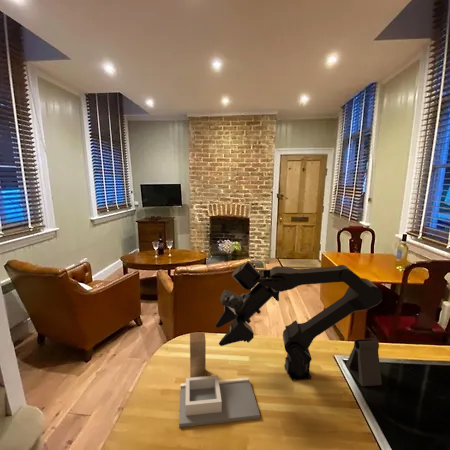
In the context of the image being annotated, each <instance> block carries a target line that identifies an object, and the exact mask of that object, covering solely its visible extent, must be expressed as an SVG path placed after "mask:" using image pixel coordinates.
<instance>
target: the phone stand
mask: <svg viewBox="0 0 450 450" xmlns="http://www.w3.org/2000/svg"><path fill="white" fill-rule="evenodd" d="M353 341H354V342H353V343H354V344H353V348H352V349H351V352H350V354H349V356H348V358H347V361H346V363H345V367H346V368H347V367H348V368H347V369H348V370H349V371H350V373H351V374H352V376H354V378H355V379H356V380H357V382H358V384H360V385H361V386H362V387H373V386H374V387H375V386H382V385H383V383H382V375H381V374H382V372H381V364H380V357H379V356H380V355H379V348H380V343H379V341H378V340H377V339H376V338H373V337H372V338H357V339H356V338H355V339H354V340H353Z"/></svg>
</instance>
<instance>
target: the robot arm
mask: <svg viewBox="0 0 450 450" xmlns="http://www.w3.org/2000/svg"><path fill="white" fill-rule="evenodd" d="M231 277H232V278H233V279H234V281H236V282H237V283H238V284H239V285H240V286H241V287H242V288H243V289H244V290H247V291H249V292H247V293H246V292H243V293H241V294H238V293H236V292H234V291H231V290H228V289H227V288H226V289H224V290H223V292H222V293H221V296H220V297H219V300H220V303H221V305H223V306H224V307H223V311H222V313H221V315H220V317H219V318H218V320H217V322H216V324H215V328H216V329H219V328H221V327H223V326H224V325H227V324H228V323H229V330H228V331H227V332H226V333H225V334H224V335H223V337H222V338H221V339H220V340H219V342H218V345H219V346H221V347H224V346H226V345H230V344H233V343H240V342H244V343H246V342H247V343H250V342H251V341H252V340H253V339H254V338H255V337H254V336H255V335H254V331H253V329H252V326H251V325H250V323H251V322H252V321H251V318H252V317H253V316H254V315H255V314H256V313H257V315H259V314H261V312H262V311H261V308H262V307H263V306H265V304H267V303H268V301H270V300H271V299H272V298H274V300H275V301H276V302H279V301H280V293H283V292H286V291H289V290H290V291H291V290H293V289H295V288H297V287H300V286H305V285H306V286H307V285H320V284H332V283H345V285H347V286H348V288H347V289H346V292H344V295H343V296H342V297H340V298H339V299H338V300H336V301H334V302H333V303H331V304H330V305H329V306H328V307H327V306H326V307H325V308H324V309H323V310H321V311H319V312H318V313H317V314H316V315H314V316H313V317H311V318H310V319H308V320H307V321H305V322H301V323H299V322H298V321H297V320H293V322H291V323H290V324H289V325H285V328H284V329H283V331H282V340H283V345H284V350H285V352H286V353H287V354H286V355H287V356H285V362H284V366H283V367H284V370H285V371H286V373H287V374H288V377H289V379H290V380H291V381H301V380H303V381H304V380H311V379H312V374H311V373H310V367H311V361H312V360H313V358H312V356H311V351H310V349H309V348H310V346H311V344H312V343H313V341H314V339H315V338H316V337H318V336H320V335H321V334H323V333H324V332H325V331H327V330H329V329H330V328H332V327H334V326H335V325H336V324H337V323H339V322H341V321H343V320H344V319H345V318H347V317H348V316H350V315H351V314H353V313H354V312H358V311H366V310H367V311H368V310H370V309H371V308H374V307H375V306H378V305H380V303H381V302H382V301H383V295H384V294H383V292H382V290H381V289H380V288H379V287H378V286H377V285H376V284H374V283H373V282H372V281H371V280H370V279H368V278H365V277H364V278H363V277H360V276H359V275H357V274H356V273H355V272H354V271H353V270H351V269H350V268H349V267H348V266H347V265H345V264H339V265H333V266H321V267H310V268H294V267H290V266H279V265H277V266H273V267H271V269H260V270H257V269H256V268H255V267H254V265H253V264H252V263H251V261H249V260H247V261H246V262H244V263H242V264H241V265H240V264H239V266H238V267H236V269H234V271H233V272H232V274H231ZM231 322H232V323H231Z"/></svg>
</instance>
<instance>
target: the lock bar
mask: <svg viewBox="0 0 450 450" xmlns="http://www.w3.org/2000/svg"><path fill="white" fill-rule="evenodd" d="M206 342H207V341H206V333H205V331H202V332H189V366H190V367H189V371H190V372H189V374H190V375H189V376H190V377H189V378H192V377H204V376H206V358H207V357H206V352H207V351H206V350H207V349H206V346H207V345H206V344H207V343H206Z"/></svg>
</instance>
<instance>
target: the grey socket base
mask: <svg viewBox="0 0 450 450" xmlns="http://www.w3.org/2000/svg"><path fill="white" fill-rule="evenodd" d="M179 389H180V390H179V391H180V395H179V416H178V417H179V418H178V421H179V424H178V425H179V426H178V427H179V428H186V427H196V426H205V425H213V424H222V423H223V424H224V423H231V422H232V423H233V422H239V421H247V420H257V419H261V414H260V411H259V407H258V404H257V401H256V397H255V394H254V391H253V387H252V384H251V379H250V377H239V378H229V379H219V375H218V374H217V375H205V376H204V377H192V378H190V377H186V378H185V382H182V383H180V388H179Z"/></svg>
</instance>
